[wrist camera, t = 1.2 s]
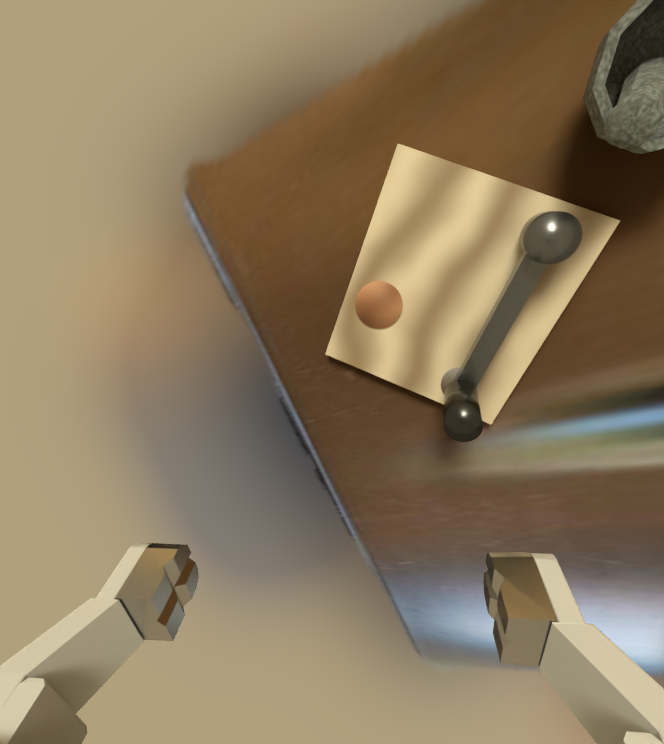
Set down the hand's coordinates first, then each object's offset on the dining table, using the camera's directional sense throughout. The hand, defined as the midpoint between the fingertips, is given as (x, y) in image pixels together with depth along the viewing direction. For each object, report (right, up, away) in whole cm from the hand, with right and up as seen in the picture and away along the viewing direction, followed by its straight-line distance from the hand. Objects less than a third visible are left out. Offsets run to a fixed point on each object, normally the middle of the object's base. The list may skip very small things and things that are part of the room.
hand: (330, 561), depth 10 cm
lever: (+16, +10, +26) cm, 32 cm away
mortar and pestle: (+23, +27, +20) cm, 41 cm away
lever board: (+12, +13, +29) cm, 34 cm away
